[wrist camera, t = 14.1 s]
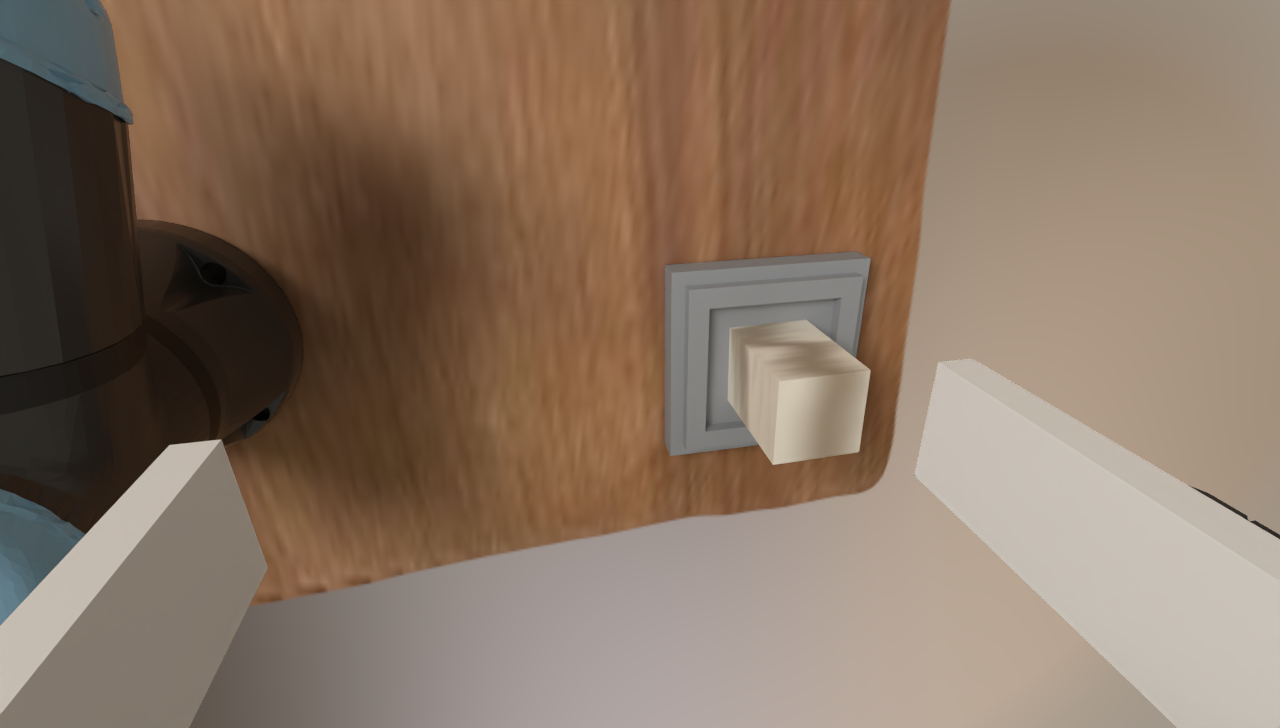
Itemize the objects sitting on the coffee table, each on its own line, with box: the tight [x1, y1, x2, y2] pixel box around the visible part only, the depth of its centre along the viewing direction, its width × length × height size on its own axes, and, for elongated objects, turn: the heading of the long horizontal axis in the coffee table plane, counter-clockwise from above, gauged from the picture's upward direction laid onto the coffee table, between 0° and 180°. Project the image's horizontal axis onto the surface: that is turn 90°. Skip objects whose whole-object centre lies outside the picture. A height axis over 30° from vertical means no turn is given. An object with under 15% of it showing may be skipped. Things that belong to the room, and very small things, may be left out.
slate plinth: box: [665, 251, 871, 456], centre depth 47 cm, size 15×15×3 cm
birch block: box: [728, 320, 871, 465], centre depth 42 cm, size 6×6×9 cm
